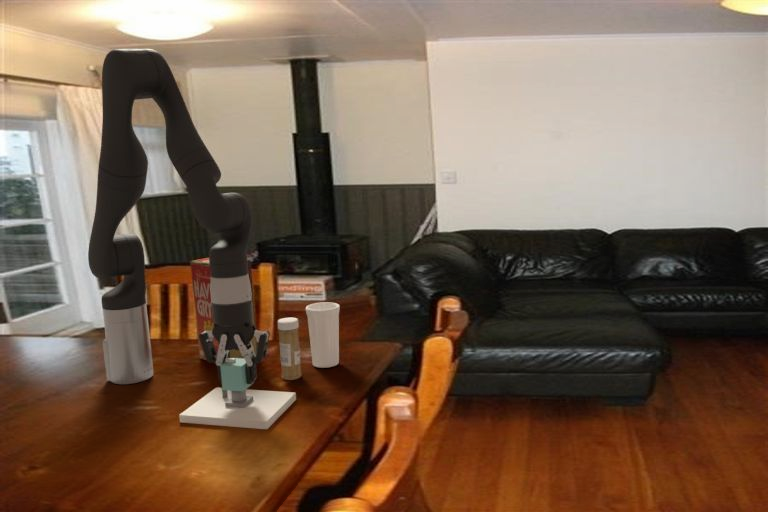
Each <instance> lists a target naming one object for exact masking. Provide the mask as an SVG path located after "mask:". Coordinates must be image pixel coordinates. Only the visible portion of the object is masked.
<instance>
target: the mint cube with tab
mask: <svg viewBox="0 0 768 512" xmlns="http://www.w3.org/2000/svg"><path fill="white" fill-rule="evenodd" d="M225 361H226V362H225V363H223V364H222V365H220V367H221V378H222V384H221V388H222V390H230V391H244V390H245V389H249V387H250V386H252V385H253V384H254V383H255V381H254V382H253V383H252V384H247V374H246V366H247V363H246V361H245V359H243V358H227V359H225Z"/></svg>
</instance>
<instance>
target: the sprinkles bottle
mask: <svg viewBox="0 0 768 512" xmlns="http://www.w3.org/2000/svg"><path fill="white" fill-rule="evenodd" d="M299 327H300V325H299V319H298V317H297V318H296V317H283V318H279V319H277V329H278V334H279V337H278V338H279V353H280V355H279V356H280V364H281V378H282V379H283V380H285V381H286V380H287V381H293V380H298V379H300V378H301V377H302V370H301V369H302V368H301V367H302V365H301V352H300V351H301V350H300V340H299V338H300V337H299Z"/></svg>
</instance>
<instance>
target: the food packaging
mask: <svg viewBox="0 0 768 512" xmlns="http://www.w3.org/2000/svg"><path fill="white" fill-rule="evenodd" d="M247 262H248V275H249V280H250V285H251V291H252V296H251V298H252V311H253V324H254V326H255V328H256V329H257V326H256V325H257V324H256V314H255V303H254V287H253V273H252V262H251V260H250V259H248V258H247ZM209 263H210V262H209V257H205V258H201V259H200V258H199V259H198V258H197V259H195V260H190V262H189V265H190V272H191V283H192V292H193V301H194V310H195V318H196V319H195V320H196V328H197V330H196V331H197V340H198V352H199V359H201V360H205V361H207V359H206V356H205V354H204V351H203V348H202V345H201V342H200V339H199V335H200V334H201V333H203V332H204V331H206V330H208V331H211V330H212V329H213V327H214V323H213V315H212V304H211V292H210V283H211V276H210V264H209ZM213 338H214V339H213V344H214V346H215V349H216V352H218V348H219V345H220V343H219V342H218V341H217V340H216V338H215V337H214V336H213ZM251 343H252V345H253V348H254V353H255V355H256V354H257V348H258V342H257V341H256V337H255V336H254V337H253V338H252V340H251ZM217 355H218V354H217ZM227 358H243V359H244V357H243V356H242V355H241V352H240V350H235V349H232V350H229V352H228V356H227Z"/></svg>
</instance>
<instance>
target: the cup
mask: <svg viewBox="0 0 768 512" xmlns="http://www.w3.org/2000/svg"><path fill="white" fill-rule="evenodd" d="M340 306H341V305H340V304H338V303H336V302H330V301H329V302H328V301H326V302H325V301H323V302H322V301H321V302H315V303H314V302H313V303H311V304H308V305H306V307H305V313H306V316H307V317H306V318H307V324H308V325H307V327H308V333H309V334H308V335H309V342H310V353H311V362H312V366H313V367H316V368H321V369H324V368H331V367H332V368H333V367H336V366H337V365H339V362H340V344H339V343H340V339H339V338H340V336H339V335H340V332H339V331H340V328H339V327H340V322H339V320H340V319H339V318H340V316H339V315H340V308H341V307H340Z"/></svg>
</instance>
